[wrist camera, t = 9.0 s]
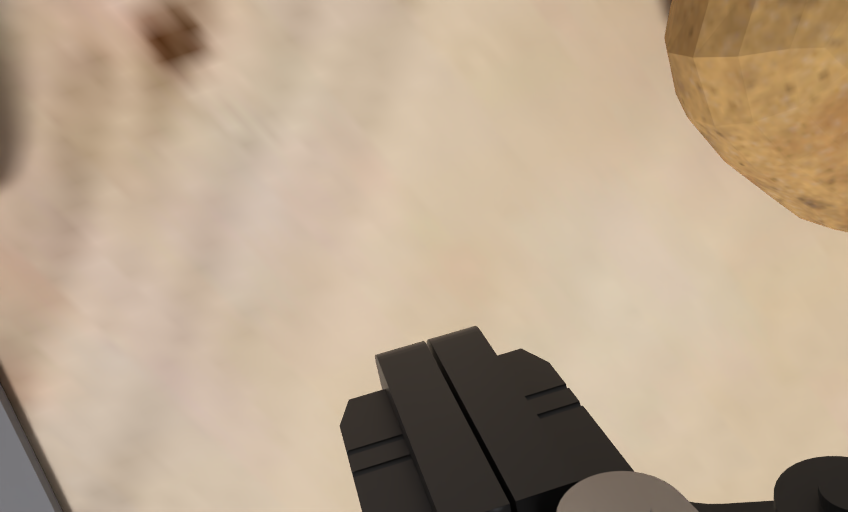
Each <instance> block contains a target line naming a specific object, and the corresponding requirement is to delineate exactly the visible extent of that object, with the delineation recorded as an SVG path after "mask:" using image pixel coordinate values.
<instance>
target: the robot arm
mask: <svg viewBox="0 0 848 512" xmlns="http://www.w3.org/2000/svg"><path fill="white" fill-rule="evenodd" d="M375 359H376V365H377V369H378V373H379V378H380V382H381V386H382V390H380V391H377V392H374V393H370V394H367V395H363V396H360V397H357V398H353V399H350V400H349V401H348V404H347V407H346V409H345V412H344V415H343V418H342V421H341V424H340V429H341V432H342V436H343V440H344V444H345V448H346V451H347V455H348V459H349V463H350V467H351V470H352V474H353V478H354V482H355V486H356V489H357V493H358V497H359V501H360V505H361V508H362V512H848V457H842V456H825V457H816V458H812V459H807V460H804V461H801V462H799V463H796V464H794V465H793V466H791V467H789V468H788V469H787V470H785V471H784V472H783V473H782V474H781V475H780V477H779V478H778V480H777V481H776V485H775V488H774V501H761V502H745V503H729V504H703V503H694V502H689V501H688V500H687V499H686V498H685V497H684V496H683V495H682V494H681V493H680V492H679V491H678V490H676V489H675V488H674V487H673V486H671V485H670V484H668V483H667V482H665V481H663V480H661V479H659V478H656V477H654V476H651V475H647V474H644V473H638V472H634V471H633V469H632V468H631V467H630V465H629V464H628V463H627V462H626V460H625V459H624V458H623V456H622V455H621V454H620V453H619V451H618V450H617V449H616V447H615V446H614V445H613V444H612V442H611V441H610V440H609V439H608V437H607V436H606V435H605V433H604V432H603V431H602V430H601V428H600V427H599V426H598V424H597V423H596V422H595V421H594V419H593V418H592V417H591V415H590V414H589V413H588V412H587V410H586V409H585V408H584V407H583V406H581V405H580V402H579V400H578V399H577V398H576V396H575V395H574V394H573V392H572V391H571V390H570V389H569V388H567V387H566V383H565V382H564V381H563V380H562V378H561V377H560V376H559V375H558V373H557V372H556V371H555V369H554V368H553V367H552V366H551V364H550V363H549V362H547V361H545V360H543V359H541V358H539V357H537V356H535V355H533V354H531V353H529V352H527V351H525V350H523V349H518V350H515V351H511V352H508V353H504V354H501V355H498V356H497V355H496V353H495V352H494V350H493V349H492V347H491V346H490V344H489V343H488V341H487V340H486V338H485V337H484V335H483V334H482V332H481V331H480V329H479V328H478V327H477V326H473V327H470V328H466V329H463V330H460V331H456V332H453V333H449V334H446V335H442V336H439V337H435V338H432V339H428V340H427V344H426V343H425V341H422V342H419V343H415V344H412V345H408V346H405V347H401V348H398V349H394V350H391V351H388V352H384V353H381V354H377V355H375Z"/></svg>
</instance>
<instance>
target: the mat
mask: <svg viewBox="0 0 848 512" xmlns="http://www.w3.org/2000/svg"><path fill="white" fill-rule="evenodd" d="M0 512H63V511H62V509H61V507H60V505H59V503H58V500H57V498H56V496H55V494H54V492H53V490H52V488H51V486H50V484H49V482H48V480H47V478H46V476H45V474H44V472H43V470H42V468H41V466H40V464H39V462H38V459H37V457H36V455H35V453H34V451H33V449H32V447H31V445H30V443H29V441H28V439H27V437H26V435H25V433H24V431H23V429H22V427H21V425H20V423H19V421H18V418H17V416H16V414H15V412H14V410H13V408H12V406H11V404H10V402H9V400H8V398H7V396H6V394H5V392H4V390H3V388H2V386H1V384H0Z"/></svg>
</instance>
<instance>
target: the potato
mask: <svg viewBox="0 0 848 512" xmlns="http://www.w3.org/2000/svg"><path fill="white" fill-rule="evenodd" d="M665 43H666V48H667V53H668V57H669V62H670V67H671V72H672V77H673V82H674V87H675V92H676V95H677V97H678V99H679V101H680V103H681V105H682V107H683V109H684V111H685V113H686V115H687V117H688V118H689V120H690V121H691V122H692V123H693V124H694V126H695V127H696V128H697V129H698V130H699V132H700V133H701V134H702V135H703V136H704V138H705V139H706V140H707V141H708V142H709V144H710V145H711V146H712V147H713V148H714V149H715V151H716V152H717V153H718V154H719V155H720V157H721V158H722V159H723V160H724V161H725V162H726V163H727V164H729V165H730V166H731V167H733V168H734V169H735V170H736V171H738V172H739V173H740V174H742V175H743V176H744V177H746V178H747V179H748V180H750V181H751V182H752V183H754V184H755V185H756V186H758V187H759V188H760V189H761V190H763V191H764V192H765V193H767V194H768V195H769V196H771V197H772V198H773V199H775V200H776V201H777V202H779V203H780V204H781V205H783V206H784V207H786V208H787V209H788V210H790V211H791V212H792V213H794V214H795V215H796V216H798V217H799V218H801V219H804V220H807V221H810V222H813V223H817V224H820V225H823V226H826V227H829V228H832V229H835V230H840V231H845V232H848V0H672V2H671V7H670V12H669V17H668V22H667V27H666V33H665Z"/></svg>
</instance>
